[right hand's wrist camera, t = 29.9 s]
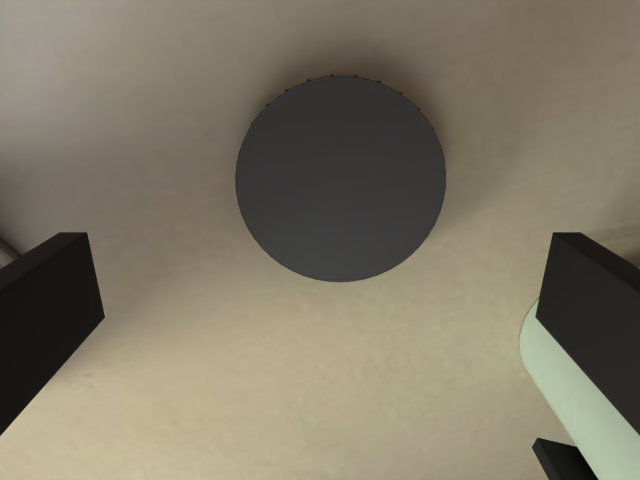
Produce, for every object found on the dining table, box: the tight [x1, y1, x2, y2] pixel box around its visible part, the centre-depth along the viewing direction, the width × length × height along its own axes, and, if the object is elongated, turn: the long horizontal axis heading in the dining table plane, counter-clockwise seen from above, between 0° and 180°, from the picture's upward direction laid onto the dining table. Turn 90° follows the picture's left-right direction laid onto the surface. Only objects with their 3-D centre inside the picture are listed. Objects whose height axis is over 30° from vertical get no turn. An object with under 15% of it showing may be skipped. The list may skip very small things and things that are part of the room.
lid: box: [236, 74, 446, 282], centre depth 23 cm, size 11×11×2 cm
